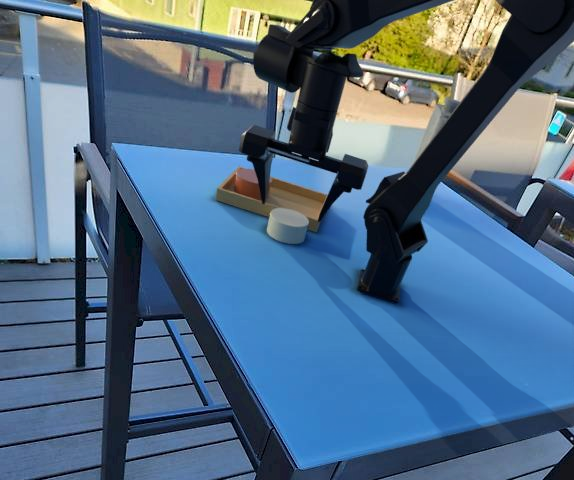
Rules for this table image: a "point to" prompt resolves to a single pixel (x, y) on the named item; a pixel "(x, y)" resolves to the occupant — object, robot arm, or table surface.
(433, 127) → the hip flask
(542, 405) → the table surface
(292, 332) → the table surface
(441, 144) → the robot arm
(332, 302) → the table surface
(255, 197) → the reddish-brown short cylinder
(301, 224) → the white short cylinder
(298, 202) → the serving tray
